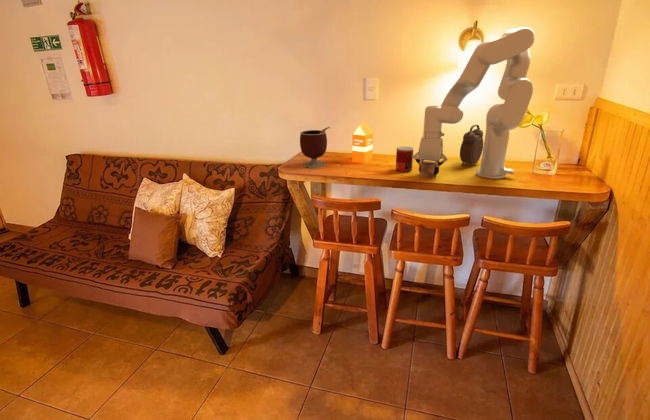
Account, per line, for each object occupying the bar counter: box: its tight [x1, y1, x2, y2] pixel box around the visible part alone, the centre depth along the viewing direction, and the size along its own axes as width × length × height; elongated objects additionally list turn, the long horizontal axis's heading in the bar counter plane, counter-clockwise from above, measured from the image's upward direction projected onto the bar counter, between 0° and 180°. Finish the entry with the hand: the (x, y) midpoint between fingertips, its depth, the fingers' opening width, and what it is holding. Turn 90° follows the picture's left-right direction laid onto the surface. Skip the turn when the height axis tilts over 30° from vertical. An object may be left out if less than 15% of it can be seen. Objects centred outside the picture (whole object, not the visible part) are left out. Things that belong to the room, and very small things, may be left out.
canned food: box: [395, 146, 414, 173], centre depth 170 cm, size 8×8×11 cm
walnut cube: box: [419, 160, 436, 179], centre depth 161 cm, size 6×6×6 cm
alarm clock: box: [459, 124, 484, 167], centre depth 175 cm, size 15×7×20 cm, turn 135°
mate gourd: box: [299, 126, 330, 169], centre depth 181 cm, size 16×14×20 cm
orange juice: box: [351, 121, 374, 164], centre depth 187 cm, size 8×9×20 cm
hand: (428, 173), depth 162 cm, fingers closed on walnut cube, 6 cm apart
